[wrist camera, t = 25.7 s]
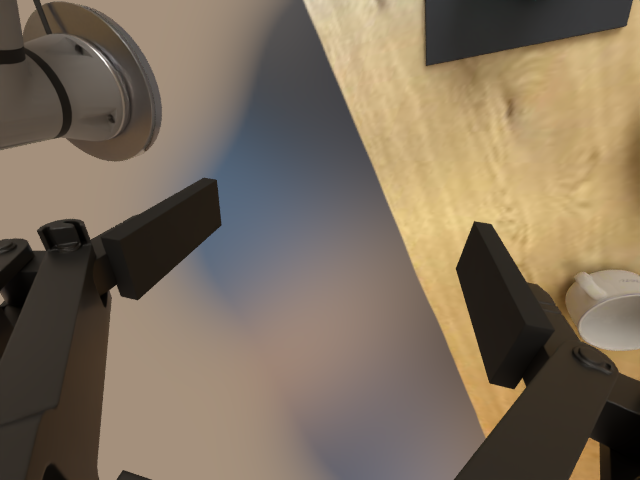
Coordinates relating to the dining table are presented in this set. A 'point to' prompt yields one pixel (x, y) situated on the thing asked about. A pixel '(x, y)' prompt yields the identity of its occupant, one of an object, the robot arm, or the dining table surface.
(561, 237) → the dining table surface
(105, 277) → the robot arm
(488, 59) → the dining table surface
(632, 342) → the teacup
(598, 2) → the placemat
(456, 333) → the dining table surface
